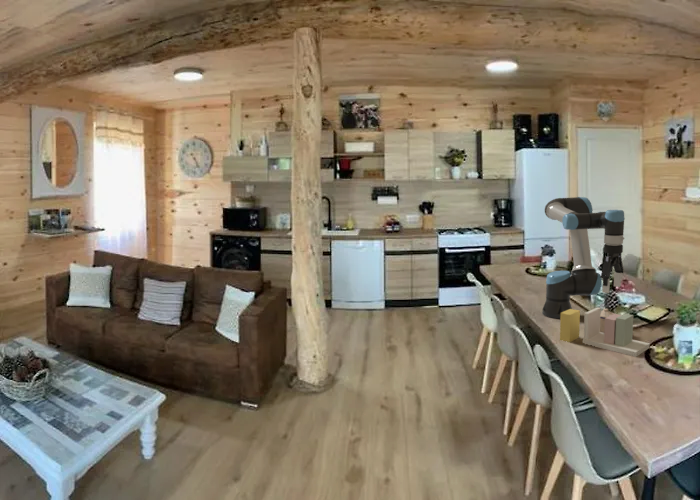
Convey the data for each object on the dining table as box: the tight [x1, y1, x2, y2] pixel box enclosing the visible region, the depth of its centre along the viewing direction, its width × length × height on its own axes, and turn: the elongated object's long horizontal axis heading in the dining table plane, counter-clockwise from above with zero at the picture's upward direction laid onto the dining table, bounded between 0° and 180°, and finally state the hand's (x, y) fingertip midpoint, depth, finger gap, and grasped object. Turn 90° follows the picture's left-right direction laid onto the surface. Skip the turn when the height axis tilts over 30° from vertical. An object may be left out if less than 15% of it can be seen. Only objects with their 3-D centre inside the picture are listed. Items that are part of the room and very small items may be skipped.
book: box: [559, 308, 581, 343], centre depth 219 cm, size 4×9×13 cm, turn 128°
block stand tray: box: [582, 307, 650, 358], centre depth 208 cm, size 22×14×14 cm, turn 38°
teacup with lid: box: [600, 308, 615, 333], centre depth 225 cm, size 12×9×12 cm
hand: (611, 289), depth 218 cm, fingers open, 13 cm apart
